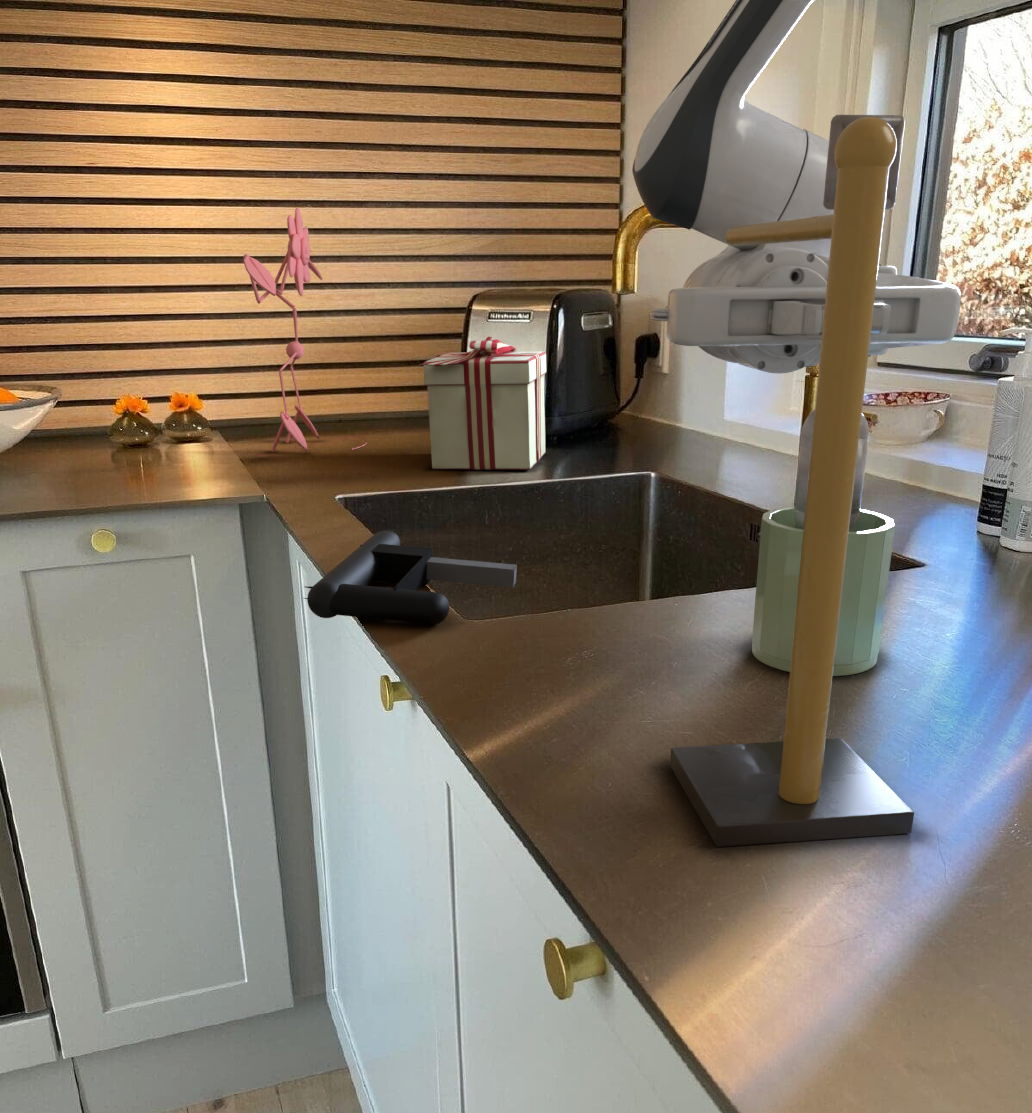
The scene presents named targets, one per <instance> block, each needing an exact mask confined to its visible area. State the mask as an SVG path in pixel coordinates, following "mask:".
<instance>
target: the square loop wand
mask: <svg viewBox="0 0 1032 1113" xmlns="http://www.w3.org/2000/svg"><path fill="white" fill-rule="evenodd" d="M868 116H872V117H878V118H881V119H883V120H884V121H886V122H887V123H888V124H889V125H890V126H891V127H892V129H893V131H894V133H895V136H896V142H897V149H896V154H895V158H894V160H893V162H892V164H891V166H890V167H889V174H888V183H887V192H886V201H885V210H884V211H886V210H892V209H893V208H894V207H895V205H896V202H897V201H896V200H897V191H898V184H899V176H900V165H901V157H902V150H903V142H904V134H905V133H904V132H905V126H906V124H905V123H906V119H905V117H904V116H902V115H901V114H836V115H834V116H833V117H832V118H831V120H830V127H829V136H828V137H829V139H828V141H829V147H828V158H827V168H826V179H825V190H824V200H823V205H824V207H825V208H826V209H828V210H834V204H835V194H836V183H837V173H838V168H837V166H836V163H835V158H834V151H835V146H836V142H837V140H838V138H839V136H840V134H841V133H842V131H843V130H844V129H845V128H846V127H847V126H848V125H849V124H850V123H852V122H853V121H855V120H857V119H859V118H862V117H868ZM814 415H815V408H814V409H813V410H812V411H811V412H810V413H809V414H808V415H807V417H806V419H805V420H804V422H803V424H802V427H801V431H800V438H799V449H798V460H797V470H796V472H797V473H796V481H795V489H794V490H795V491H794V500H793V501H794V503H793V506H794V516H795V520H796V522H797V525H798V526H799V528H800V529H804V520H805V510H806V499H807V489H808V478H809V468H810V457H811V447H812V436H813V425H814ZM869 438H870V428H869V423H868V420H867V418H866V416H865V415H864V413H863V412H862V416H861V425H860V434H859V443H858V452H857V461H856V470H855V479H854V488H853V497H852V506H851V515H850V524H849V531H850V530H851V529H852V528H853V527H854V525H855V524H856V522H857V519H858V517H859V513H860V509H861V508H862V507H861V506H862V498H863V489H864V482H865V481H864V480H865V472H866V464H867V455H868V447H869Z"/></svg>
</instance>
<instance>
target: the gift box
mask: <svg viewBox="0 0 1032 1113" xmlns="http://www.w3.org/2000/svg"><path fill="white" fill-rule="evenodd" d="M469 349H470V350H469V351H467V352H446V353H443V354H438V355H435V357H433V358H431V359H429V360H426V361H424V362H422V363H421V364H419V366H420V367H423V382H424V385H425V386H426V387H427V400H428V403H427V404H428V422H429V435H430V436H429V437H430V438H429V439H430V440H429V441H430V453H431V454H430V456H431V469H432V470H480V471H481V470H483V471H484V470H485V471H487V470H489V471H490V470H491V471H492V470H512V471H515V470H516V471H522V470H523V471H524V470H526V471H529V470H531V469H532V468H533V467H534V466H535V465H536V464H538V463H539V461H540V460H541V458H542V457H543V456H544V455H545V454H546V453H547V452H546V411H545V375H546V374H547V371H548V370H547V353H546V351H544V350H534V351H533V350H531V351H530V350H527V351H526V350H525V351H516V347H514V346H512V345H510V344H508V343H505V342H503V341H502V340H499V339H497V338H495V337H492V336H487V337H486V338H485V339H484V340H483V339H481V340H472V341H470V342H469Z"/></svg>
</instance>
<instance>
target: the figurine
mask: <svg viewBox="0 0 1032 1113" xmlns="http://www.w3.org/2000/svg"><path fill="white" fill-rule="evenodd" d="M302 216H303V215H302V212H301V209H300V208H299V207H298V206H296V207H295V210H294V217H293V215H291V214H288V216H287V218H286V220H287V221H286V222H287V223H286V225H287V226H286V227H287V234H288V239H289V241H288V243H287V251H286V254H285V256H284V258H283V260H282V263H281V265H280V268H279V270H278V271H277V272H278V273H277V275H276V277H275V278H274V277H273V275H272V273H271V272H270V271H269V269H268V268H267V267H265V266H264V265H263V264H262V263H261V262H260V261H259V260H258V259H256V258H255V257H252V256H250V255H249V254H248V253H245V254H243V257H242V258H243V264H244V268H245V271H246V272H247V274H248V275H249V278H250V282H251V287H252V290H253V294H254V298H255V300H256V303H257V304H258V305H260V304H261V303H262V302H263V301H264V300H265V299H266V298H267V297H268V296H269V295H272V296H273V297H277V298H279V300H281V301H282V302H283V303H284V304H286V305H287V306H288V307H289V308H291V310H292V318H293V329H294V339H295V340H294V341H291V342H289V343H288V344H287V346H286V348H285V352H286V355H287V357H289V358H288V359H287V361H286V362H285V363H284V364H283V365H282V367H280V369H279V370H278V375H279V382H280V388H281V394H282V400H283V407H284V411H280V413H279V417H280V419H281V424H280V427H279V429H278V432H277V434H276V437H275V439H274V442H273V444H272V447H271V449H270V451H271V452H275V451H276V448H277V446H278V444H279V441H280V438H281V436H282V433H283V431H284V428H285V429H286V431H287V435H286V438H285V441H284V442H285V443H287V444H289V442H290V440H291V438H292V439H293V440H294V441H295V443H297V444H298V445H299V446H300V447H301V449H303V450H304V451H305V452H308V450H309V449H308V445H307V442H306V438H305V436H304V434H303V432H302V430H301V429H300V428H299V426H298V425H297V422H298V420H299V417H300V419H301V420H302V421H303V423H304V424H305V425H306V426H307V428H308V429H309V431H310V432H311V433H312V434H313V435H314V436H315V437H316V438H317V440H320V438H321V436H320V435H319V433H318V431H317V429H316V427H315V426H314V424H313V422H312V421H311V420H310V419H309V417H308V415H306V413H305V412H304V409H303V408H302V404H301V399H300V395H299V389H298V384H297V381H296V376H295V371H294V364H295V362H296V361H297V360H300V359H301V358H302V357H303V355H304V351H305V349H304V346H303V345H302V343H300V342H299V337H298V336H299V335H298V334H299V333H298V314H297V312H298V311H297V308H296V305H294V303H292V302H291V301H289V300H288V299H286V298H285V297H284V296H283V292H284V288H285V285H286V281H287V277H288V275H289V277H290V278H294V284H295V288H296V290H297V293H298V295H299V296H300V297H302V296H303V294H304V283H305V284H310V281H311V273H310V272H313V273H314V275H315V276H316V277H317V278H318V279H319V280H320V281H323V277H322V275H321V273H320V271H319V270H318V268H317V267H316V265H315V264H314V263H313V262H312V261H311V259H310V257H311V255H310V254H311V248H310V247H311V246H310V243H309V241H310V235H309V234H310V233H309V228H308V226H307V225H305V226H304V223H303V217H302ZM283 271H284V272H283ZM282 273H283V275H282ZM281 276H282V279H281V283H280V287H279V289H278V288H277V286H278V282H279V281H280V278H281ZM257 285H258V286H259V287H260V288H261V289H263V290H264V291H265V292H264V293H262V295H261V296H260V294H259V291H258V287H257ZM288 365H289V368H290V372H291V376H292V381H293V386H294V389H295V394H296V398H297V403H298V404H294V409H295V410H296V413H295V416H294V418H292V417H291V416H290V415H289V413H288V406H287V399H286V392H285V387H284V380H283V379H284V378H283V373H282V372H283V371H284V369H285V368H286V367H287V366H288ZM347 437H353V438H357V439H361V440H364V441H365V443H364V444H362V445H360V446H356V447H354V448H353V447H352V450H357V449H359V448H362V447H364V446H366V445H367V443H368V441H367V437H360V436H356V435H349V434H347ZM255 456H257V457H267V456H268V455H267V454H256V455H255Z"/></svg>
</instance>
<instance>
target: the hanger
mask: <svg viewBox="0 0 1032 1113" xmlns="http://www.w3.org/2000/svg"><path fill="white" fill-rule="evenodd" d="M896 149H897V142H896V136H895V133H894V131H893V129H892V127H891V126H890V125H889V124H888V123H887V122H886V121H884V120H883V119H881V118H878V117H872V116H868V117H862V118H859V119H857V120H855V121H853V122H852V123H850V124H849V125H848V126H847V127H846V128H845V129H844V130H843V131H842V133H841V134H840V136H839V138H838V140H837V142H836V146H835V151H834V158H835V163H836V166H837V168H838V173H837V183H836V194H835V204H834V214H831V215H823V216H815V217H807V218H799V219H791V220H783V221H775V222H767V223H759V224H751V225H743V226H735V227H731V228H730V229H729V230H728V231H727V233H726V241H727V243H728V244H729V245H731V246H741V245H755V244H770V243H784V242H798V241H813V240H827V239H831V246H830V257H829V267H828V278H827V289H826V299H825V310H824V320H823V331H822V341H821V352H820V362H819V364H818V375H817V383H816V384H817V385H816V394H815V406H814V409H815V415H814V425H813V436H812V447H811V457H810V468H809V478H808V489H807V499H806V510H805V520H804V531H803V541H802V552H801V562H800V573H799V583H798V594H797V605H796V615H795V626H794V636H793V647H792V657H791V668H790V672H789V678H788V680H789V681H788V689H787V701H786V711H785V721H784V722H785V723H784V731H783V732H784V733H783V740H780V741H766V742H765V741H764V742H750V743H749V742H747V743H731V744H729V743H728V744H715V745H712V744H711V745H698V746H697V745H695V746H683V747H682V746H681V747H679V746H678V747H671V748H670V758H669V760H670V761H669V767H670V769H671V770H672V772H673V774H674V776H675V777H676V780H677V781H678V783H679V784H680V786H681V788H682V789H683V791H684V793H685V794H686V796H687V798H688V800H689V802H690V804H691V805H692V807H693V809H694V810H695V812H696V814H697V815H698V817H699V819H700V821H701V822H702V824H703V826H704V827H705V829H706V831H707V833H708V834H709V836H710V838H711V839H712V841H713V843H714V844H715V847H716V848H722V847H735V846H748V845H763V844H765V845H766V844H777V843H778V844H779V843H791V842H802V841H803V842H804V841H806V842H807V841H819V840H821V841H822V840H833V839H834V840H835V839H847V838H848V839H849V838H862V837H864V838H865V837H875V836H876V837H877V836H891V835H904V834H911V833H912V831H913V823H914V817H915V811H914V810H912V809H911V808H910V806H908V805H907V803H905V801H904V800H903V799H902V798H901V797H900V796H899V795H898V794H897V793H896V792H895V791H894V790H893V789H892V788H891V787H890V786H889V785H888V784H887V783H886V782H885V781H884V780H883V779H882V777H880V776H879V775H878V774H877V773H876V772H875V771H874V770H873V769H872V768H871V767H870V766H869V765H868V764H867V763H866V761H865V760H863V759H862V757H860V756H859V755H858V753H857V752H855V751H854V749H853V748H851V747H850V745H849V744H848V743H847V742H846V741H844V739H843V738H842V737H832V738H831V737H830V738H827V730H828V721H829V712H830V705H831V704H830V702H831V696H832V695H831V693H832V685H833V678H834V676H833V668H834V659H835V650H836V641H837V632H838V623H839V614H840V605H841V596H842V587H843V578H844V569H845V560H846V551H847V542H848V533H849V524H850V515H851V506H852V497H853V488H854V479H855V470H856V461H857V452H858V443H859V434H860V425H861V416H862V413H863V407H864V399H865V389H866V379H867V373H868V372H867V371H868V361H869V357H868V354H869V345H870V336H871V327H872V318H873V309H874V300H875V291H876V282H877V273H878V264H879V263H880V254H881V246H882V237H883V226H884V218H885V211H886V210H885V201H886V192H887V183H888V174H889V167H890V166H891V164H892V162H893V160H894V158H895V154H896Z"/></svg>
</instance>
